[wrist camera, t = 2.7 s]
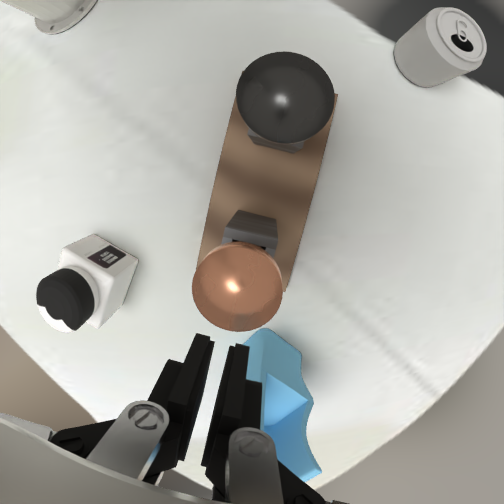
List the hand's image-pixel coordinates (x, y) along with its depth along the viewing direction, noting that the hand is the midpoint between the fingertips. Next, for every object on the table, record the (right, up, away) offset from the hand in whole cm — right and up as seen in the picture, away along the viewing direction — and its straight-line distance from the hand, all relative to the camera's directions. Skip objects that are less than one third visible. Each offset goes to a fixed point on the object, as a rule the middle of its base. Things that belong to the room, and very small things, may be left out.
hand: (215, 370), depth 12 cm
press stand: (+3, +13, +25) cm, 28 cm away
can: (+22, +29, +19) cm, 41 cm away
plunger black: (+4, +16, +16) cm, 23 cm away
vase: (+3, -10, +31) cm, 33 cm away
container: (-18, +2, +29) cm, 34 cm away
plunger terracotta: (+1, +5, +19) cm, 20 cm away
